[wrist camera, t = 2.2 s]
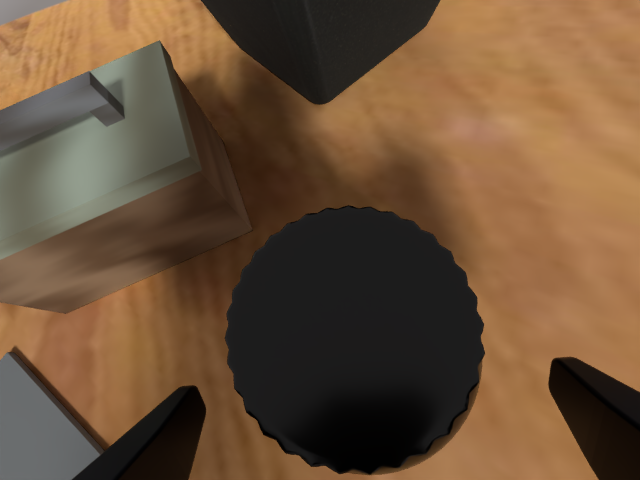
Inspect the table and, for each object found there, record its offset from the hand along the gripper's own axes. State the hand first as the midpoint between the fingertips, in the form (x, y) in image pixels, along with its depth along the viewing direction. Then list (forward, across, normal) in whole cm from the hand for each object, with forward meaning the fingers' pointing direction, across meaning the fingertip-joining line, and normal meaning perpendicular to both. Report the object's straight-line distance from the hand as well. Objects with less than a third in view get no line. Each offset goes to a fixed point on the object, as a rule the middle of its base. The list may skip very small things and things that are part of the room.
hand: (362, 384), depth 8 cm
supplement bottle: (+7, 0, +6) cm, 9 cm away
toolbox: (+15, +15, -2) cm, 21 cm away
